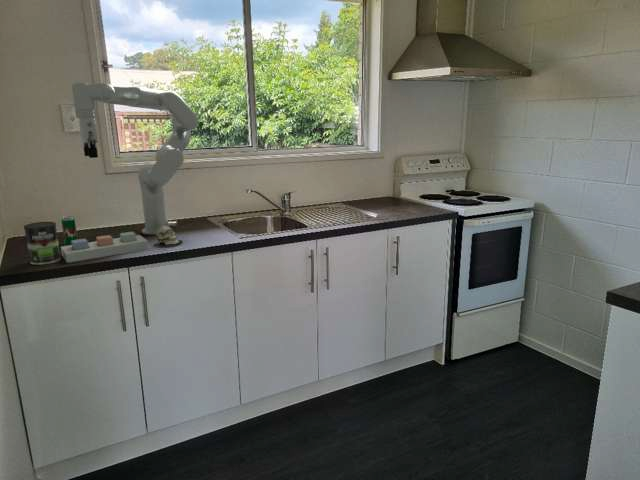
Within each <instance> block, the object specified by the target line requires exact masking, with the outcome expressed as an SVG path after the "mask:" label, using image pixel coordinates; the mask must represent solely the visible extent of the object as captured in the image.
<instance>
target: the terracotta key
mask: <svg viewBox="0 0 640 480" xmlns="http://www.w3.org/2000/svg"><path fill="white" fill-rule="evenodd" d="M95 238H96V241H97V245H98V246H99V247H100V246H106V245H112V244H113V239H114V238H113V236H111V235H110V234H108V235H100V236H96V237H95Z"/></svg>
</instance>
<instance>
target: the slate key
mask: <svg viewBox="0 0 640 480" xmlns="http://www.w3.org/2000/svg"><path fill="white" fill-rule="evenodd" d="M71 243H72V249H73V251H74V250H81V249H87V248H89V245H88V243H89V241H88V239H86V238H80V239H78V240H72V241H71Z"/></svg>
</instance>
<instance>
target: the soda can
mask: <svg viewBox="0 0 640 480" xmlns="http://www.w3.org/2000/svg"><path fill="white" fill-rule="evenodd" d="M60 221H61V222H60V223H61V228H62V233H63V240H64V241H63V242H64V246H69V245H72V243H71V241H72V240H78V232H77V225H76V219H75V217H74V216H73V215H66V216H62V217H61V220H60Z"/></svg>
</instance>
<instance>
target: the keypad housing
mask: <svg viewBox="0 0 640 480" xmlns="http://www.w3.org/2000/svg"><path fill="white" fill-rule="evenodd" d="M136 240H137V241H131V242H125V243H123V242H121V239H120V237H117V238H113V244H112V245H106V246H100V247H99V246H98V245H97V240H96V241H91V242H89V241H88V245H89V248H87V249H81V250H74V251H73V249H72V245H69V246H67V245H63V246H60V253H61V255H62V256H61V257H63V259H64V260H65V262H66V263H67V264H68V263H74V262H81V261H86V260H87V261H88V260H92V259H98V258H104V257H109V256H114V255H115V256H116V255H121V254H127V253H131V252H132V253H134V252H139V251H143V250H144V251H146V250H149V249H150V247H149V240H147V238H144V237H143V236H142V235H140V234H136Z"/></svg>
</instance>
